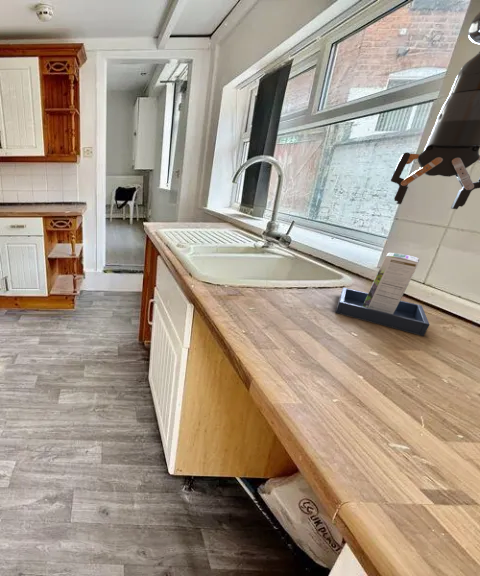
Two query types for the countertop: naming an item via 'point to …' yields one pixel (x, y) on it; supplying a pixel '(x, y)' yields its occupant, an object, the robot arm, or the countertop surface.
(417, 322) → the tray
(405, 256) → the syrup box
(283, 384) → the countertop surface
